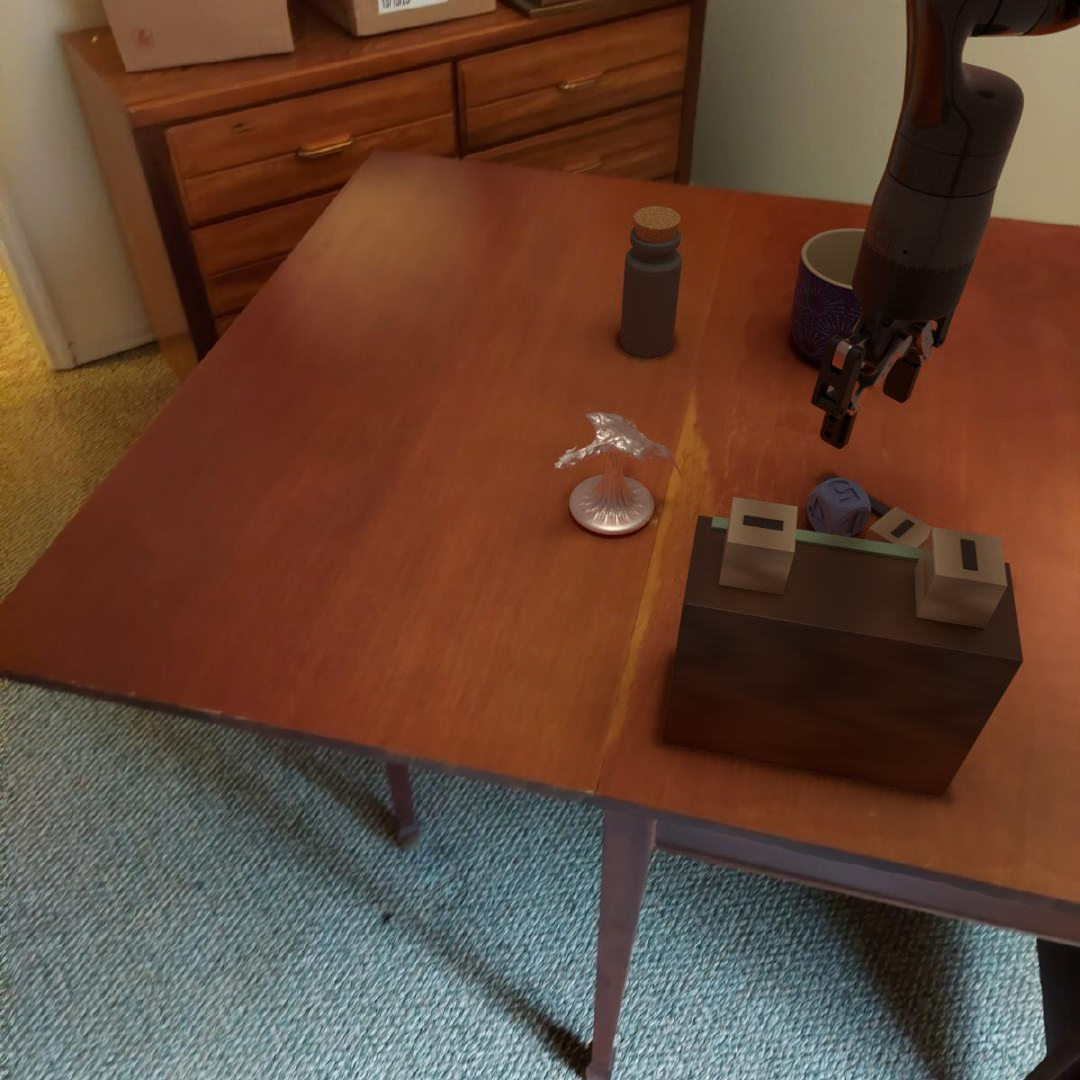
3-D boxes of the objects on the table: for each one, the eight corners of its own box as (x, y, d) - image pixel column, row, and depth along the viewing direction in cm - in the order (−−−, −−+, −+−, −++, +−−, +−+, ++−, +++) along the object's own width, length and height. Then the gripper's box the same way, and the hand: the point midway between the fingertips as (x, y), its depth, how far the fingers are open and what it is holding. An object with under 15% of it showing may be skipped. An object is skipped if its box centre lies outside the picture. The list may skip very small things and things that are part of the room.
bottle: (671, 360, 104) (685, 233, 93) (617, 356, 104) (624, 228, 93) (674, 330, 108) (688, 204, 97) (622, 325, 108) (630, 200, 97)
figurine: (683, 508, 88) (694, 428, 81) (580, 565, 83) (582, 485, 76) (629, 463, 92) (635, 383, 85) (528, 514, 87) (526, 434, 80)
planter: (801, 305, 111) (820, 217, 103) (909, 333, 107) (938, 243, 99) (767, 362, 103) (785, 271, 95) (882, 394, 99) (911, 302, 91)
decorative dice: (827, 545, 84) (836, 513, 81) (802, 516, 87) (810, 483, 84) (865, 533, 85) (876, 501, 82) (839, 504, 88) (849, 472, 85)
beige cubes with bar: (1005, 582, 81) (1022, 549, 78) (960, 626, 78) (976, 594, 75) (831, 476, 91) (840, 443, 88) (784, 512, 87) (792, 479, 84)
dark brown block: (937, 704, 73) (1033, 517, 58) (942, 796, 67) (1050, 617, 53) (675, 657, 76) (705, 469, 62) (661, 742, 71) (689, 558, 56)
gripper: (910, 297, 60) (850, 484, 72) (1026, 220, 67) (954, 403, 78) (813, 251, 64) (772, 435, 76) (932, 182, 70) (876, 362, 82)
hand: (864, 419), depth 77 cm, fingers open, 8 cm apart
